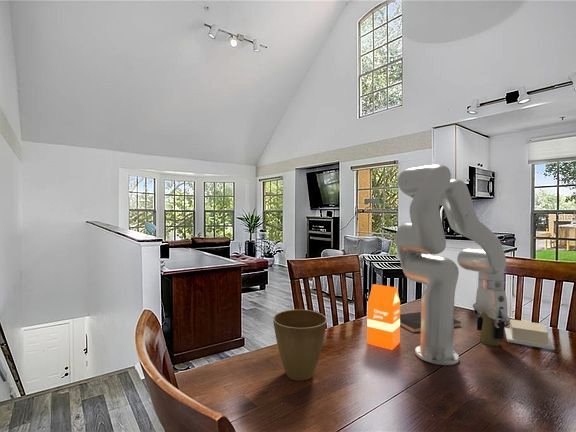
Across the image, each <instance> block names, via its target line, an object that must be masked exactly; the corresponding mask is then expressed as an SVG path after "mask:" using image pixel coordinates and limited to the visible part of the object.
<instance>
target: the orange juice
mask: <svg viewBox="0 0 576 432" xmlns="http://www.w3.org/2000/svg"><path fill="white" fill-rule="evenodd" d="M400 314H401V300H400V297H399V291H398V289H397V287H396V286H390V285H389V286H387V285H383V284H375V283H374V284H373V283H372V286H371V290H370V292H369V297H368V301H367V319H366V320H367V322H366V324H367V325H366V328H367V331H366V332H367V333H366V334H367V335H366V336H367V337H366V339H367V340H366V343H367V344H368V345H372V346H375V347H380V348H383V349H386V350H391V351H393V350H394V349H395V348H396V347H397V346H398V345H399V344H400V343H401V342H400V341H401V340H400V339H401V338H400V337H401V336H400V334H401V333H400V332H401V325H400Z"/></svg>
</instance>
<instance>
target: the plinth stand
mask: <svg viewBox="0 0 576 432" xmlns="http://www.w3.org/2000/svg"><path fill="white" fill-rule="evenodd" d="M504 333H505V337H506V341H507V342H508V343H513V344H518V345H524V346H528V347H535V348H541V349H547V350H553V351H555V346H554V344H553V342H552V341H551V339H550V337H549V332H548V330H547V328H546V326H545V325H544V323H539V322H532V321H526V320H519V319H518V320H517V319H510V321H509V328H508V327H505V328H504Z"/></svg>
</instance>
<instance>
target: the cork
mask: <svg viewBox="0 0 576 432" xmlns="http://www.w3.org/2000/svg"><path fill="white" fill-rule="evenodd" d="M482 318H483V324H482V330H480V335H479V342H480V343H482V344H483V345H484V344H485V345H487V346H495V347H496V346H500V343H501V342H500V339H494V327H495V324H494V321H493V319H492V318H490V317H488V315H487V314H486V313H484V312H482ZM497 318H499V317H498V316H497ZM497 321H498V322H499V320H497Z"/></svg>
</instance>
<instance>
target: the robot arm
mask: <svg viewBox="0 0 576 432" xmlns="http://www.w3.org/2000/svg"><path fill="white" fill-rule="evenodd" d="M451 172H452V171H451V169H449V167H448V166H446V165H444V164H430V165H429V164H428V165H423V166H417V167H411V168H407V169H404V170H402V171H401V172H400V173H399V175H398V177H397V186H398V188H399V190H400V191H401V192H402V194H403V193H404V195H407V196H408V197H410V198H412V200H411V202H410V205H409V218H410V222H406V223H403V224H402V225H400V226H399V227H398V228H397V231H396V233H395V246H396V247H395V248H396V251H397V254H398V258H399V262H400V266H401V270H402V272H403V274H404V276H405V278H406V279H408V280H411V281H413V282H416V283H421V284H424V285H427V286H426V288H425V289H424V292H423V293H422V295H421V297H420V312H421V331H420V344H419V345H418V346H416V347H415V349H414V353H415V355H416V357H418V358H419V359H420V360H422V361H424V362H427V363H431V364H434V365H438V366H439V365H441V366H452V365H456V364H457V363H459V361H460V356H459V353H457V352H456V351H455V350H454V347H455V346H454V343H455V342H454V341H455V340H454V339H455V337H454V336H455V334H454V333H455V332H454V331H455V327H454V319H455V296H456V288H457V284H458V280H459V275H460V274H459V273H460V272H459V271H460V270H459V267H461V268H462V269H464V270H466V271H471V272H477V273H478V277H477V278H478V281H477V283H478V284H477V288H476V289H477V290H476V295H475V303H473V304H472V308H473V310H474V314H475V319H476V330H478V331H481V330H482V324H483V318H482V312H484V313H486V314H487V315H488V317H490V318H492V319H493V321H494V324H495V327H494V339H499V340H503V339H504V333H505V328H506V326H507V325H508V324H510V316H509V315H508V302H507V301H508V300H507V293H506V290H504V287H505V284H504V281H505V280H504V276H505V275H504V272H505V269H506V267H507V259H506V253H505V250H504V248H503V245H502V241H500V239H499V238H498V236H497V235H496V234H495V233H494V232H493V231H492V230H491V229H490V228H489V227H488V226H486V225H485V224H484V223H482V222H481V221H480V220H479V217H478V214H477V211H476V209H475V206H474V202H473V200H472V199H473V198H472V197H471V193H470V191H469V188H468V186H467V184H466V183H465V181H463V180H461V179H458V178H457V179H455V178H454V179H453V178H452V173H451ZM440 206H442V208H443V209H444V213H445V216H446V219H447V221H448V224H449V227H450V229H451V230H453V231H454V232H456V233H457V234H459V235H461V236H463V237H465V238H467V239H469V240H471V241H473V242H474V243H476V245H477V244H478V245H479V247H480V248H481V249H478V248H465V249H463V250H461V251H460V252H459V253H458V254H457V258H456V260H457V263H458V265H459V267H458V265H457V264H456V263H455V261H454V260H452V259H450V258H448V257H444V256H440V254H441V253H443V252H444V251H445V249H446V247H447V239H446V234H445V231H444V226H443V222H442V221H443V220H442V216H441V211H440V210H441V209H440ZM438 254H439V255H438ZM497 316H498V317H499V318H497ZM497 320H498V321H497Z"/></svg>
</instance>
